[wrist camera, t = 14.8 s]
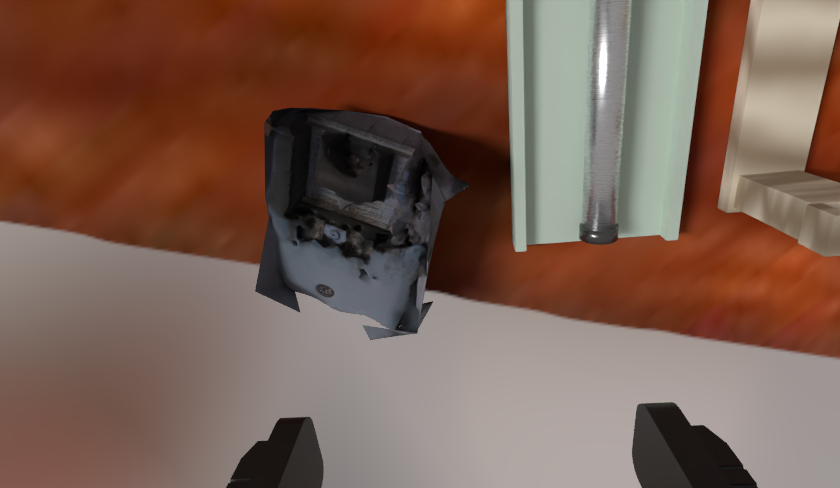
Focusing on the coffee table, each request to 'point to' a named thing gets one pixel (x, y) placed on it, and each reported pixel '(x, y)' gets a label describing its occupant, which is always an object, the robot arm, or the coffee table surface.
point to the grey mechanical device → (352, 214)
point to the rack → (783, 122)
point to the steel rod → (604, 118)
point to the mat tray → (566, 115)
